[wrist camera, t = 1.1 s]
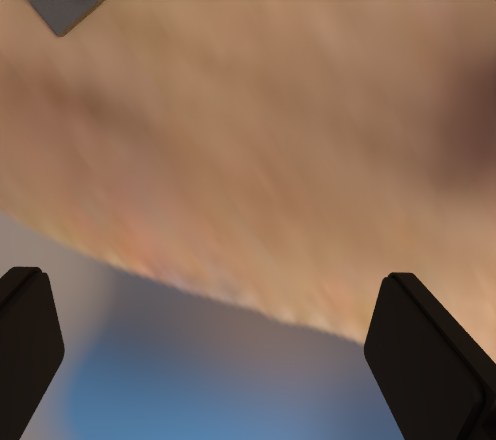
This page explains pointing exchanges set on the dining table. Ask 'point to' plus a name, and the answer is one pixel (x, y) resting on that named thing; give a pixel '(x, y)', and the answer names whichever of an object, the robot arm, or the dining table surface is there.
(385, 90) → the dining table surface
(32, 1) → the flange socket
